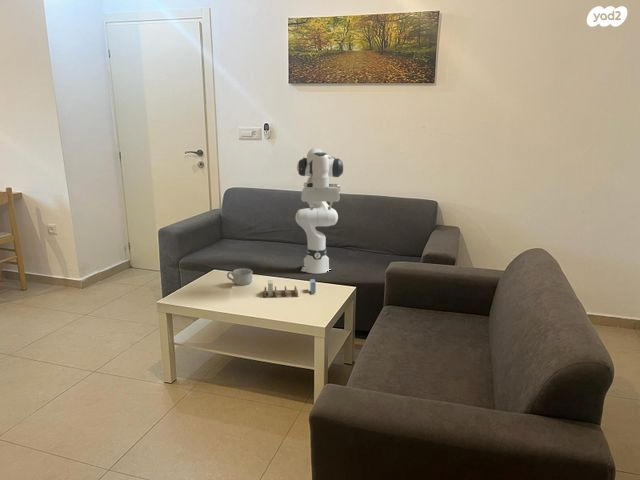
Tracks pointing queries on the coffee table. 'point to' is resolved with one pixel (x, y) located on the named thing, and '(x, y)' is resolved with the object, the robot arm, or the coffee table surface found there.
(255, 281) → the coffee table surface
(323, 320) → the coffee table surface
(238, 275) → the teacup
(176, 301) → the coffee table surface
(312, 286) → the blue plate
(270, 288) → the sage plate
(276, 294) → the rack
